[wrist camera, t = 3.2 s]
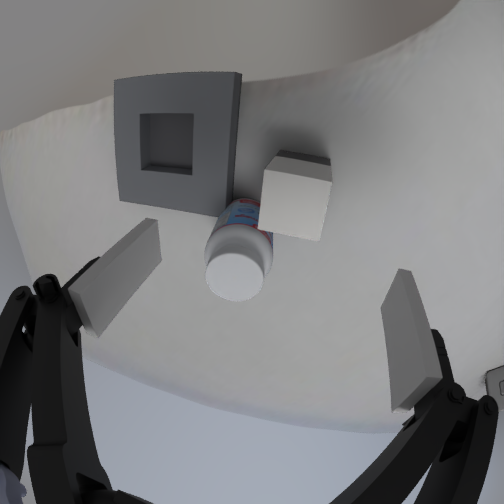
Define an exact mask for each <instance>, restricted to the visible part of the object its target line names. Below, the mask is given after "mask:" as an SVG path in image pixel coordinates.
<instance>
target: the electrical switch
mask: <svg viewBox="0 0 504 504" xmlns="http://www.w3.org/2000/svg"><path fill="white" fill-rule="evenodd" d="M485 383H486V391H487V395H489V396H492V397H493V398H494V399H495V400H496V402H497V404H498V408H499V412H500V411H503V410H504V366H503V367H500V368H497V369H495V370H492V371H489V372H488V373H487V375H486V379H485Z"/></svg>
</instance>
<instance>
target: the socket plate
mask: <svg viewBox="0 0 504 504" xmlns="http://www.w3.org/2000/svg"><path fill="white" fill-rule="evenodd" d="M241 82H242V74H240V73H237V72H183V73H167V74H156V75H146V76H138V77H131V78H124V79H117V80H114V135H115V155H116V168H117V180H118V190H119V198H120V201H124V202H131V203H137V204H143V205H150V206H156V207H162V208H168V209H174V210H180V211H185V212H191V213H197V214H202V215H208V216H214V217H219V216H220V215H221V213H222V212H223V211H224V210H226V208H227V207H228V205H229V204H230V203H231V202H232V201H233V185H234V170H235V156H236V142H237V129H238V117H239V105H240V93H241Z"/></svg>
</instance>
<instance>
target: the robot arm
mask: <svg viewBox="0 0 504 504" xmlns="http://www.w3.org/2000/svg"><path fill="white" fill-rule="evenodd" d="M161 261H162V259H161V250H160V240H159V230H158V220H155V219H150V218H146V219H145V220H143V221H142V222H141V223H140V224H138V225H137V226H136V227H135V228H134V229H132V230H131V231H130V232H129V233H128V234H127V235H125V236H124V237H123V238H122V239H121V240H120V241H118V242H117V243H116V244H115V245H114V246H113V247H112V248H110V249H109V250H108V251H107V252H106V253H105V254H104V255H103V256H102V257H97V258H95V259H93V260H91V261H89V262H88V263H87V264H86V265H85V266H84V267H83V268H82V269H81V270H80V271H79V272H78V273H76V274H75V275H74V276H73V277H72V278H71V279H70V280H69V281H68V282H67V283H66V284H65V285H64V286H63V287H62V288H61V287H60V284H59V282H58V279H57V277H56V276H55V275H53V274H46V275H43V276H41V277H39V278H38V279H37V280H36V281H35V282H34V284H33V288H34V290H35V292H36V294H37V295H33V294H32V292H31V290H30V288H29V287H28V286H20V287H18V288H16V289H15V290H14V291H13V292H12V294H11V295H10V297H9V299H8V301H7V303H6V305H5V307H4V309H3V311H2V313H1V315H0V504H23V502H22V498H21V497H25V496H26V493H27V492H26V488H25V486H24V485H22V484H21V483H20V479H21V475H22V470H23V465H24V455H25V444H26V434H27V426H28V420H29V413H30V407H31V406H32V423H33V424H32V425H33V436H34V443H33V445H31V446H29V447H28V449H27V458H28V465H29V472H30V477H31V482H32V487H33V491H34V496H35V500H36V503H37V504H153V503H151V502H149V501H146V500H144V499H142V498H140V497H137V496H134V495H131V494H128V493H126V492H123V491H120V490H118V491H114V490H112V487H111V484H110V481H109V478H108V476H107V474H106V472H105V470H104V469H103V467H102V466H101V464H100V461H99V458H98V454H97V450H96V446H95V441H94V437H93V432H92V427H91V423H90V417H89V411H88V405H87V398H86V391H85V383H84V374H83V362H82V348H81V333H80V330H79V328H80V327H81V326H82V325H83V326H84V329H85V331H86V333H88V334H90V335H92V336H94V337H96V338H99V337H100V336H101V334H102V333H103V332H104V330H105V329H106V328H107V327H108V325H109V324H110V323H111V321H112V320H113V319H114V318H115V316H116V315H117V314H118V313H119V311H120V310H121V309H122V308H123V306H124V305H125V304H126V303H127V301H128V300H129V299H130V298H131V297H132V295H133V294H134V293H135V292H136V290H137V289H138V288H139V287H140V286H141V284H142V283H143V282H144V281H145V280H146V279H147V277H148V276H149V275H150V274H151V273H152V271H153V270H154V269H155V268H156V267H157V266H158V264H159V263H160V262H161ZM381 313H382V319H383V326H384V333H385V340H386V348H387V357H388V366H389V377H390V390H391V408H392V413H407V412H408V411H409V410H411V409H412V408H413V407H414V412H415V414H414V415H413V416H411V417H410V418H409V419H408V420H407V421H406V422H404V423H403V424H402V425H403V426H404V425H405V426H404V427H403V428H402V429H401V431H400V432H399V433H398V434H397V436H396V437H395V438H394V439H393V440H392V442H391V443H390V444H389V445H388V446H387V448H386V449H385V450H384V451H383V452H382V453H381V454H380V455H379V457H378V458H377V459H376V460H375V461H374V462H373V463H372V464H371V465H370V466H369V467H368V468H367V469H366V470H365V471H364V472H363V474H361V475H360V476H359V477H358V478H357V479H356V480H355V481H354V482H353V483H352V484H351V485H350V486H349V487H348V488H347V489H345V490H344V491H343V492H342V493H341V494H340V495H339V496H338V497H336V498H335V499H334V500H333V501H332V502H331V503H329V504H401V503H402V502H403V501H404V500H405V498H407V496H408V495H409V494H410V493H411V491H412V490H413V489H414V487H415V486H416V485H417V484H418V482H419V480H420V479H421V478H422V476H423V475H424V474H425V473H426V471H427V470H428V468H429V467H430V465H431V464H432V465H431V468H430V470H429V472H428V475H427V477H426V479H425V481H424V484H423V486H422V488H421V490H420V492H419V494H418V496H417V498H416V500H415V502H414V504H477V502H478V499H479V496H480V493H481V490H482V487H483V484H484V481H485V477H486V474H487V470H488V466H489V462H490V458H491V454H492V449H493V445H494V439H495V434H496V428H497V420H498V413H499V408H498V404H497V402H496V400H495V399H494V398H493V397H492V396H489V395H485V396H483V397H482V398H481V399H479V400H478V401H477V400H474V399H471V398H469V397H466V394H465V391H464V389H463V388H462V387H461V386H460V385H459V384H457V383H455V382H454V378H453V374H452V370H451V366H450V362H449V358H448V356H447V355H448V354H447V351H446V349H445V348H446V347H445V344H444V340H443V338H442V336H441V335H440V333H439V332H438V330H435V329H430V325H429V322H428V319H427V316H426V312H425V309H424V306H423V303H422V300H421V297H420V294H419V291H418V289H417V286H416V283H415V280H414V278H413V275H412V272H411V271H408V270H404V269H398V271H397V273H396V276H395V278H394V280H393V282H392V285H391V287H390V289H389V291H388V293H387V295H386V298H385V300H384V302H383V304H382V306H381ZM23 326H24V327H25V328H26V330H25V332H24V333H23V332H22V328H23ZM432 462H433V463H432Z"/></svg>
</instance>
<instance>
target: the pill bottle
mask: <svg viewBox="0 0 504 504" xmlns="http://www.w3.org/2000/svg"><path fill="white" fill-rule="evenodd" d="M260 204H261V203H260V202H258V201H256V200H253V199H248V198H242V199H237V200H234V201H232V202H231V203H230V204H229V205H228V207H227V208H226V210H224V211H223V212H222V213H221V215H220V216H219V218H218V220H217V222H216V225H215V227H214V229H213V231H212V233H211V235H210V238H209V240H208V242H207V245H206V248H205V263H206V266H207V267H206V271H205V278H206V282H207V284H208V286H209V288H210V289H211V290H212V291H213V292H214V293H215V294H216V295H217V296H219V297H221V298H223V299H226V300H230V301H244V300H248V299H250V298H252V297H254V296H255V295H257V293H258V292H259V291H260V290H261V288H262V286H263V282H264V278H265V276H266V275H267V274H268V272H269V271H270V269H271V266H272V262H273V232H269V231H264V230H259V229H258V222H259V213H260Z"/></svg>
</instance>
